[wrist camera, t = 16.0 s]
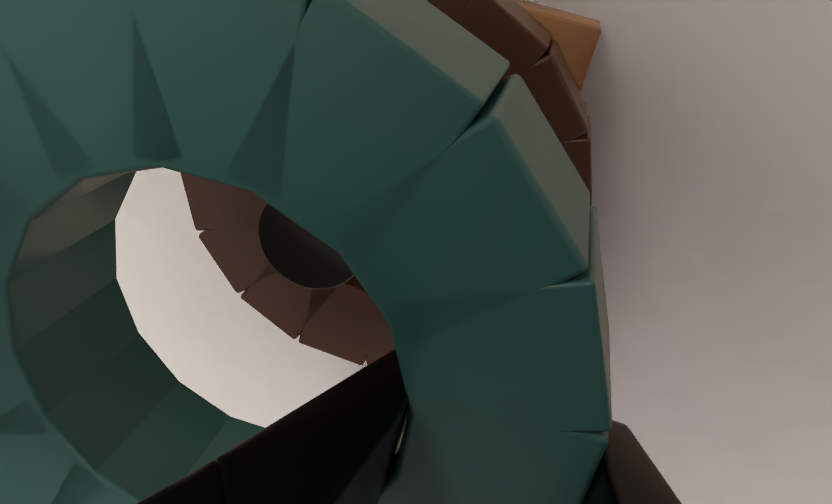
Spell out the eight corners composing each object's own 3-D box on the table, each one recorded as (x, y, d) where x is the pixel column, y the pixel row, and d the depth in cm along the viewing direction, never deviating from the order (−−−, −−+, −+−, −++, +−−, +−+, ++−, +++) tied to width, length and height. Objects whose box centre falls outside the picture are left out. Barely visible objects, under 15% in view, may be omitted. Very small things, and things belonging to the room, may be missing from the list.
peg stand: (600, 20, 16) (613, 79, 10) (506, 297, 20) (468, 476, 13) (290, -63, 17) (106, -62, 10) (253, 218, 21) (99, 351, 14)
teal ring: (719, 41, 7) (761, 79, 5) (507, 604, 12) (489, 735, 10) (-46, -128, 9) (-231, -146, 7) (19, 436, 13) (-83, 525, 11)
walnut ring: (658, 31, 15) (670, 45, 13) (513, 370, 19) (506, 419, 17) (251, -98, 16) (204, -103, 14) (201, 257, 20) (160, 292, 18)
